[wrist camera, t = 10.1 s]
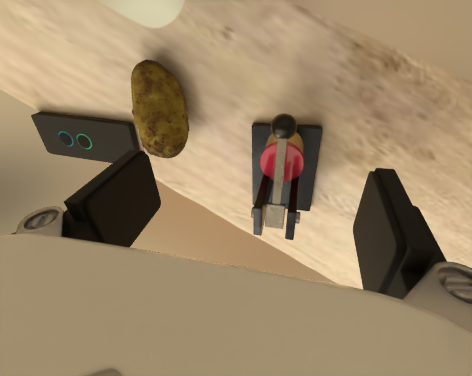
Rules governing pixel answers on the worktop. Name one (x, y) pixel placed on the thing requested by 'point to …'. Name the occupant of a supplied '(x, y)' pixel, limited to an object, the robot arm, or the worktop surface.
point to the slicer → (293, 191)
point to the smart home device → (85, 136)
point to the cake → (292, 160)
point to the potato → (159, 109)
